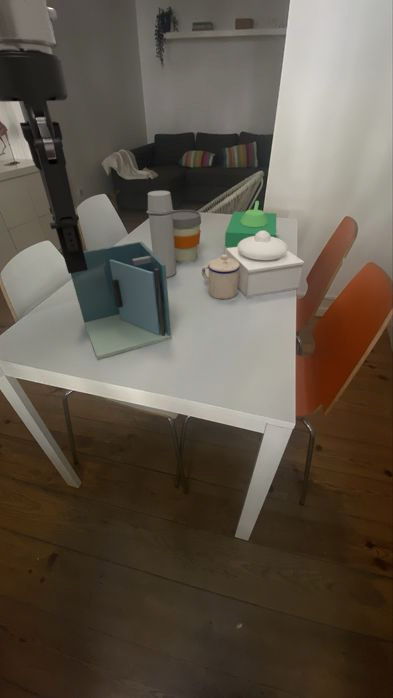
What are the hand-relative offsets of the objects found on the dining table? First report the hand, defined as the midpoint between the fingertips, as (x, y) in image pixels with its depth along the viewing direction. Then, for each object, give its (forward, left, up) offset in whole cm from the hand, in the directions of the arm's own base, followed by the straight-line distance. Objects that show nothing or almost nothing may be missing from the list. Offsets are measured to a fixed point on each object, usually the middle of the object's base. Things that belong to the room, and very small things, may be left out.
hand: (77, 269), depth 47 cm
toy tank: (+73, +60, -27) cm, 99 cm away
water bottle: (+30, +48, -27) cm, 63 cm away
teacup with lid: (+40, +28, -27) cm, 56 cm away
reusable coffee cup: (+42, +58, -27) cm, 76 cm away
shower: (+9, +20, -26) cm, 34 cm away
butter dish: (+55, +28, -27) cm, 67 cm away
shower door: (+12, +19, -25) cm, 33 cm away
